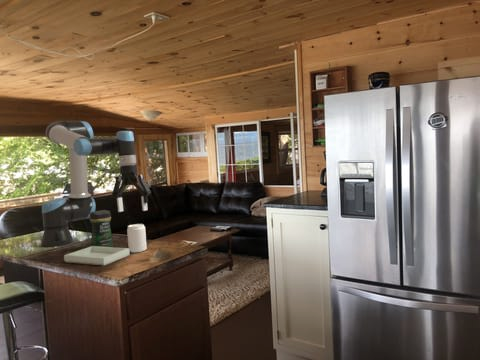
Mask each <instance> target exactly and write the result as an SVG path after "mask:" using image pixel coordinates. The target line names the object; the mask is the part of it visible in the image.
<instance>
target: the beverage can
mask: <svg viewBox="0 0 480 360" xmlns="http://www.w3.org/2000/svg"><path fill="white" fill-rule="evenodd" d="M126 232H127V233H126V234H127V244H128V245H127V246H128V248H129V252H130V253H132V254H136V253H137V254H138V253H142V252H144V251H146V250H147V249H148V247H147V234H146V226H145V224H143V223H135V224H129V225H127V229H126Z"/></svg>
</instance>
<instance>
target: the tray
mask: <svg viewBox="0 0 480 360" xmlns="http://www.w3.org/2000/svg"><path fill="white" fill-rule="evenodd" d="M130 253H131V252H130V251H129V247H128V248H127V247H114V246H112V247H98V246H92V245H91V246H87V247H86V248H82V249H79V250H75V251H71V252H69V253H66V254H64V255H63V258H64V259H63V260H64V263H73V264H83V265H95V266H107V265H109V264H112V263H113V262H116V261H119V260H121V259H123V258H126V257H129V256H130V255H131V254H130Z"/></svg>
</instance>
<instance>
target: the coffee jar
mask: <svg viewBox="0 0 480 360" xmlns="http://www.w3.org/2000/svg"><path fill="white" fill-rule="evenodd" d="M111 220H112V215H111V211H110V210H109V209H108V210H107V209H101V210H95V211H94V212H91V213H90V218H89V222H90V224H91V246H98V247H114V242H113V241H114V240H113V235H112V229H111Z"/></svg>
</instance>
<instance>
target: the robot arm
mask: <svg viewBox="0 0 480 360" xmlns="http://www.w3.org/2000/svg"><path fill="white" fill-rule="evenodd" d="M45 136H46V138H47V140H48V141H50V142H51V143H52V144H55V145H63V146H65V147H67V149H68V151H69V154H68V155H69V173H70V175H69V176H70V193H69V195H67V199H66V198H64V197H60V198H55V199H50V200H47V201H44V202H43V203H42V204H41V214H42V216H41V217H42V224H43V233H42V238H41V242H40V243H41V247H44V248H45V247H49V248H50V247H59V246H64V245H69V244H71V243H73V242H74V241H73V240H74V239H73V235H72V233H71V231H70V229H69V224H68V223H69V222H75V221H81V220H86V219H90V213H91V212H94V211H96V201H95V199H94V197H92V195H91V194H90V193H89V189H88V188H89V187H88V186H89V185H88V159H87V156H97V155H98V156H99V155H100V156H101V155H102V156H103V155H104V156H105V155H109V156H110V155H113V156H114V155H117V154H118V155H117V156H118V162H119V163H118V164H119V165H120V166H119V173H120V175H119V176H115V183H114V187H113V188H112V189H113V190H112V193H111V197H112V198H115V203H116V204H115V205H117V212H118V213H121V212H124V203H123V197H122V195H123V193H124V191H125V190H126V188H127V187H128V186H134V187H135V188H136V190H137V191H138V192H139V193H140V194H141V196H140V197H141V207H142V211H143V212H146V211H148V203H149V198H148V196H149V195H151V194H152V191H151V190H150V187H149V186H148V184H147V182H146V180H145V177H144V174H138V165H137V155H136V145H135V138H134V132H133V131H131V130H120V131H117V132H116V136H115V137H107V138H106V137H105V138H103V137H102V138H101V137H99V138H94V131H93V128H92V125H90V123H89V122H88V121H83V120H82V121H81V120H56V121H53V122H51V123H49V125H47V127H46V129H45Z"/></svg>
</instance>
